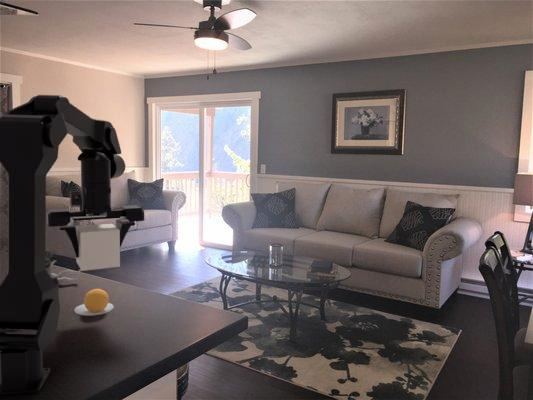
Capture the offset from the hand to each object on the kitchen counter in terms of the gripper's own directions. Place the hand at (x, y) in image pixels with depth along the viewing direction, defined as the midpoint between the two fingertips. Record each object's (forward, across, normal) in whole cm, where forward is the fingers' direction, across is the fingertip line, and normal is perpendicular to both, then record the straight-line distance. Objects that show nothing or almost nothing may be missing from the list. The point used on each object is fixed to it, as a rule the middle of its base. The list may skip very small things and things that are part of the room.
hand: (97, 255), depth 93 cm
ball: (+10, 0, 0) cm, 10 cm away
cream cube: (+2, 0, 0) cm, 2 cm away
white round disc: (+13, 0, -2) cm, 13 cm away
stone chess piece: (+13, +9, -19) cm, 25 cm away
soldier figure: (+13, +6, -24) cm, 28 cm away
